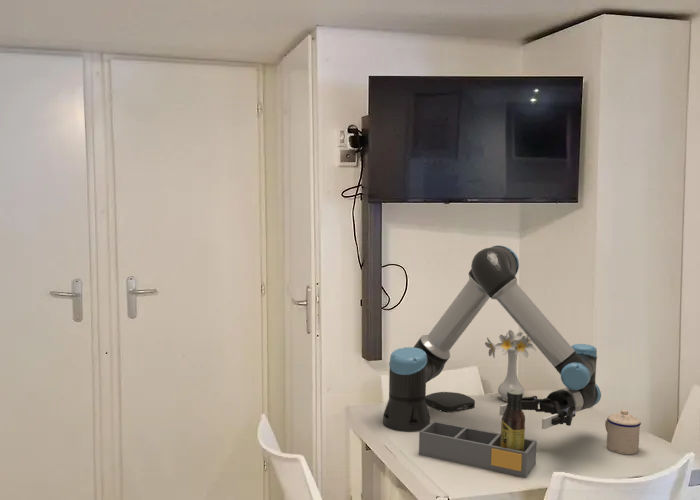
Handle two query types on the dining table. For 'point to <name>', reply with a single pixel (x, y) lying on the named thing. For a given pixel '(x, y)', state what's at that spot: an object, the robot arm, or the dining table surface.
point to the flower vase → (511, 359)
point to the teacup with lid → (623, 433)
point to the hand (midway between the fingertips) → (521, 417)
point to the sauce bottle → (513, 422)
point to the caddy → (475, 448)
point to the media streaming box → (449, 401)
